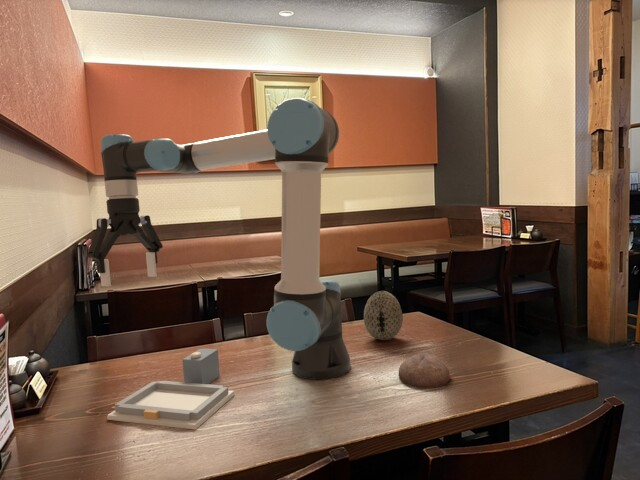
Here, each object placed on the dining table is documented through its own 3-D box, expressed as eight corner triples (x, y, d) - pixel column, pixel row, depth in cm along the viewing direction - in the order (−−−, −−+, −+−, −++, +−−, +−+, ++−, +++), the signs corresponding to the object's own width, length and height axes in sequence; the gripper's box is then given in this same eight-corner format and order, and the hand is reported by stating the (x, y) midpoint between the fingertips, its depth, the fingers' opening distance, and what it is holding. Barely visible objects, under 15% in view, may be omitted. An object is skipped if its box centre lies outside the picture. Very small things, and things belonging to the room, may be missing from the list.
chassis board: (234, 394, 103) (233, 384, 103) (195, 429, 88) (194, 417, 88) (156, 388, 110) (155, 378, 109) (107, 419, 94) (106, 408, 94)
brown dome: (446, 370, 112) (446, 348, 112) (453, 389, 101) (452, 365, 100) (398, 369, 114) (397, 348, 114) (399, 389, 102) (398, 365, 102)
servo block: (219, 376, 116) (217, 346, 115) (202, 388, 108) (200, 357, 108) (202, 374, 117) (200, 345, 117) (184, 387, 110) (182, 356, 109)
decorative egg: (404, 334, 142) (402, 287, 141) (402, 346, 131) (400, 295, 130) (367, 333, 145) (365, 287, 144) (362, 345, 134) (359, 295, 133)
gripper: (153, 197, 127) (160, 272, 129) (65, 199, 105) (74, 289, 107) (171, 196, 123) (178, 273, 125) (84, 198, 102) (93, 291, 103)
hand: (130, 281), depth 116 cm, fingers open, 13 cm apart
